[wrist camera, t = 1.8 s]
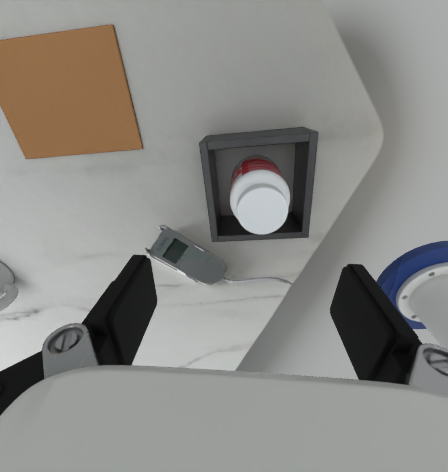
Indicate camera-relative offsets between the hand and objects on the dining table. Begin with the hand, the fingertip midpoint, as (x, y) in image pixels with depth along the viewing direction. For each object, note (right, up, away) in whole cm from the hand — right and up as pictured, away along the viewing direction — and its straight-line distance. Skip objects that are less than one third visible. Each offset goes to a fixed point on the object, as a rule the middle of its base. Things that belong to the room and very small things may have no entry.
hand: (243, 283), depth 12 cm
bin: (+3, +10, +19) cm, 22 cm away
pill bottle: (+3, +10, +20) cm, 22 cm away
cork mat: (-20, +18, +16) cm, 31 cm away
